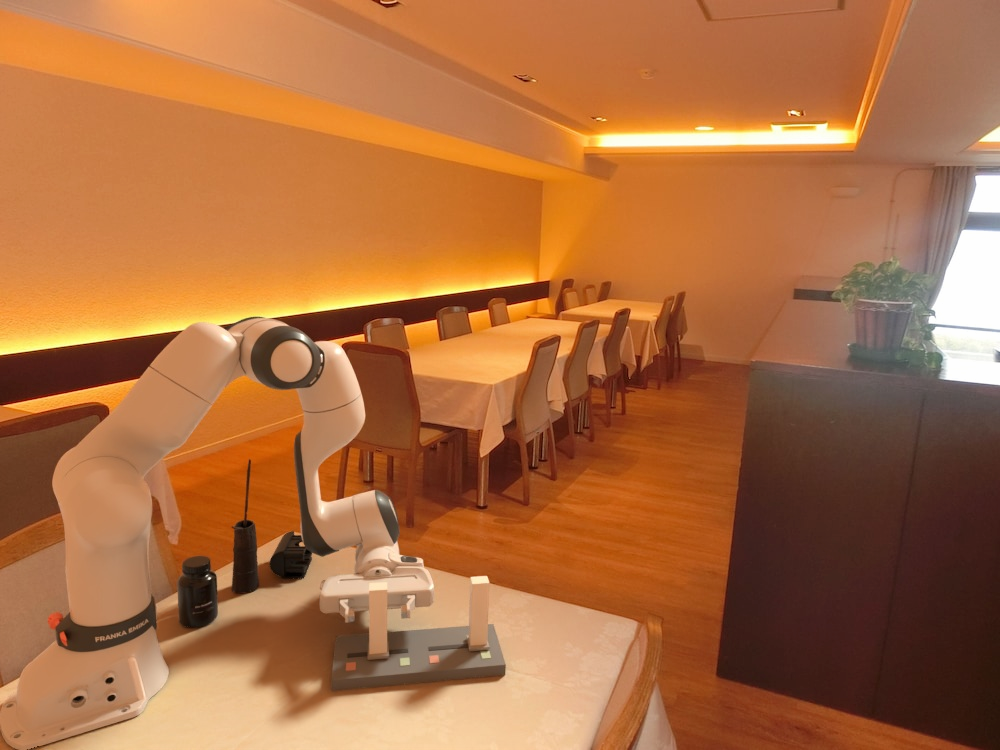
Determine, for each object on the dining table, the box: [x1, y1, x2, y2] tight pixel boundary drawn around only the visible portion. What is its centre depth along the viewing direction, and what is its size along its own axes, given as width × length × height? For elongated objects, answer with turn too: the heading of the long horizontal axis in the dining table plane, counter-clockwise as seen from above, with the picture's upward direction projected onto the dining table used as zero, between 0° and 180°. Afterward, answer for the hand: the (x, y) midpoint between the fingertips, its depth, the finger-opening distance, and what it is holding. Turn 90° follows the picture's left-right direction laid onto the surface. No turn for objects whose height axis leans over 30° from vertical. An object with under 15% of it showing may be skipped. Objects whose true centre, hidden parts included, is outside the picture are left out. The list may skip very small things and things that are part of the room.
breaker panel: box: [330, 623, 507, 692], centre depth 113 cm, size 29×12×2 cm, turn 101°
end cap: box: [269, 530, 313, 580], centre depth 142 cm, size 10×7×7 cm
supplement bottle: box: [176, 555, 219, 629], centre depth 122 cm, size 7×7×12 cm
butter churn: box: [231, 459, 259, 594], centre depth 130 cm, size 9×10×28 cm
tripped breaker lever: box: [368, 582, 389, 660], centre depth 110 cm, size 4×4×12 cm
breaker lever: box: [466, 575, 490, 651], centre depth 114 cm, size 4×4×12 cm
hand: (377, 616), depth 109 cm, fingers open, 8 cm apart
